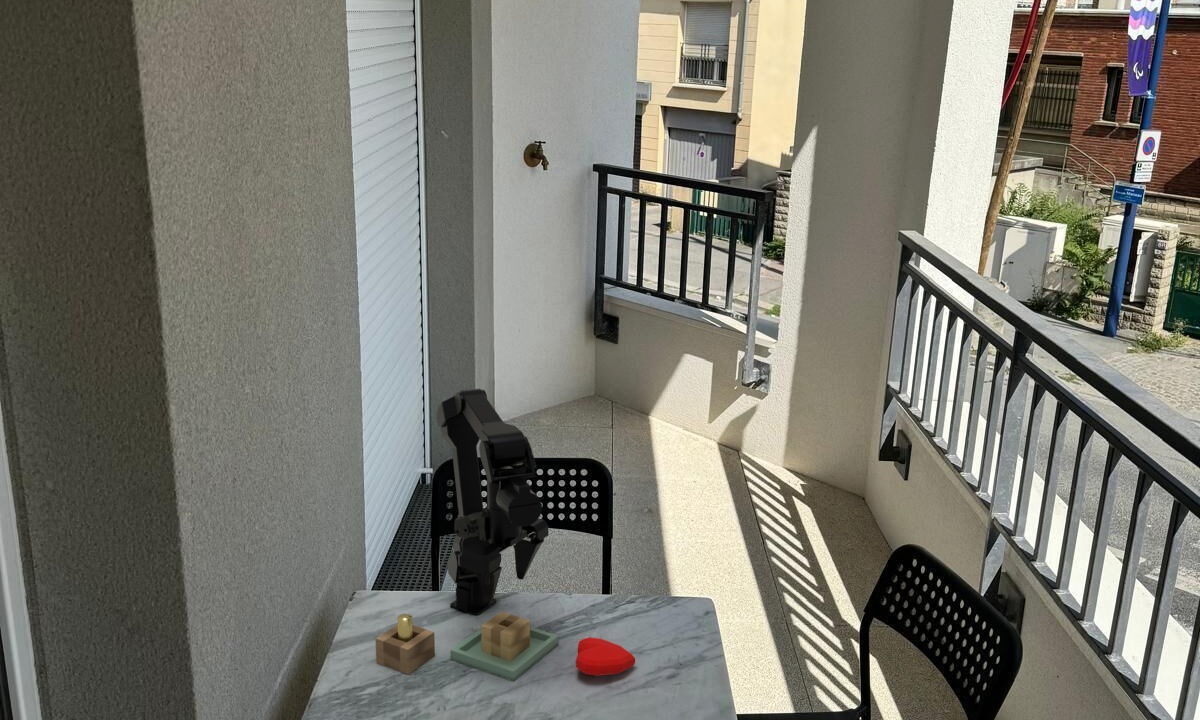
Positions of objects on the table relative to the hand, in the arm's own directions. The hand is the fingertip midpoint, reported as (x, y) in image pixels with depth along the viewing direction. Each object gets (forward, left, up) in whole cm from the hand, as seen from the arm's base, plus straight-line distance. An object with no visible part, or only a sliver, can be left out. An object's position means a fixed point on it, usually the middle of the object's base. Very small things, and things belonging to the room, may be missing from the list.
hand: (505, 589), depth 187 cm
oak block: (0, 0, -12) cm, 12 cm away
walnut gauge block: (+11, -13, -12) cm, 21 cm away
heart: (-5, +17, -12) cm, 22 cm away
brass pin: (+11, -13, -12) cm, 21 cm away
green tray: (0, 0, -12) cm, 12 cm away
